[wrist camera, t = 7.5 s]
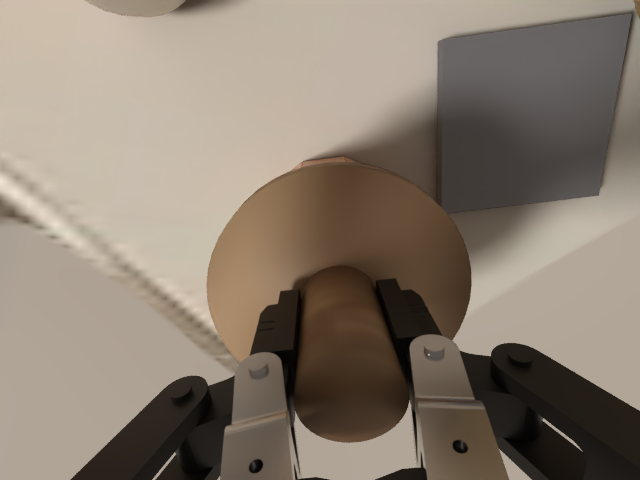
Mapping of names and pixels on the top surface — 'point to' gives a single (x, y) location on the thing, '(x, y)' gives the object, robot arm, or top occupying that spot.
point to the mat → (527, 112)
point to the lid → (339, 285)
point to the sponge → (637, 6)
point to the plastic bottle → (137, 7)
